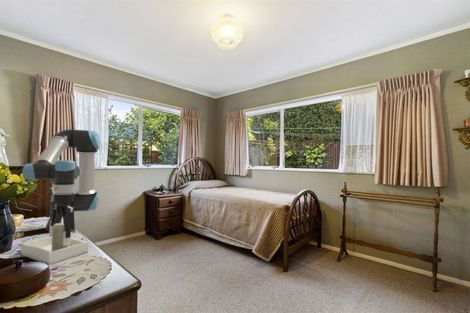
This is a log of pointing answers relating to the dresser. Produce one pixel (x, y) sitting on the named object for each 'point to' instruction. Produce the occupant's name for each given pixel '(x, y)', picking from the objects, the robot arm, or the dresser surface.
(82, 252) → the tray
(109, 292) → the dresser surface
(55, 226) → the skincare box
